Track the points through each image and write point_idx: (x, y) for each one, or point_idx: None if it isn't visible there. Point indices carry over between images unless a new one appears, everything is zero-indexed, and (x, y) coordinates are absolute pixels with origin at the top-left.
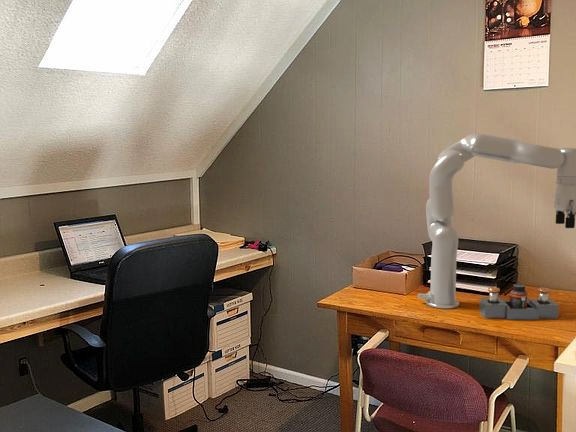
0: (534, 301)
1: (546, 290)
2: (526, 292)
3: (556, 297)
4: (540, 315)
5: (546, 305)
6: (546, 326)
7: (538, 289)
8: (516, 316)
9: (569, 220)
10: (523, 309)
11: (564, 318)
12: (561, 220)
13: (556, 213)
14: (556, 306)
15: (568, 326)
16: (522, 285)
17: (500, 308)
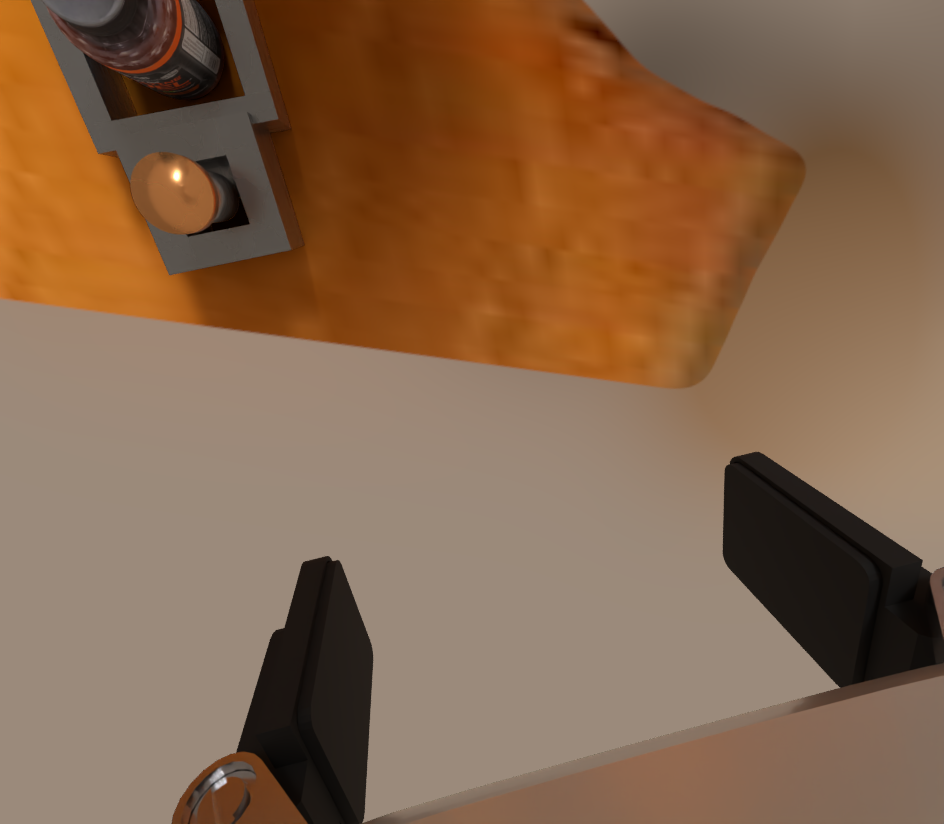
0: (199, 141)
1: (135, 204)
2: (99, 54)
3: (569, 312)
4: None
5: None
6: (31, 188)
7: (160, 152)
8: None
9: (249, 724)
10: (53, 49)
11: (220, 298)
12: (758, 557)
13: (911, 568)
14: (167, 262)
15: (90, 298)
16: (82, 2)
17: None
